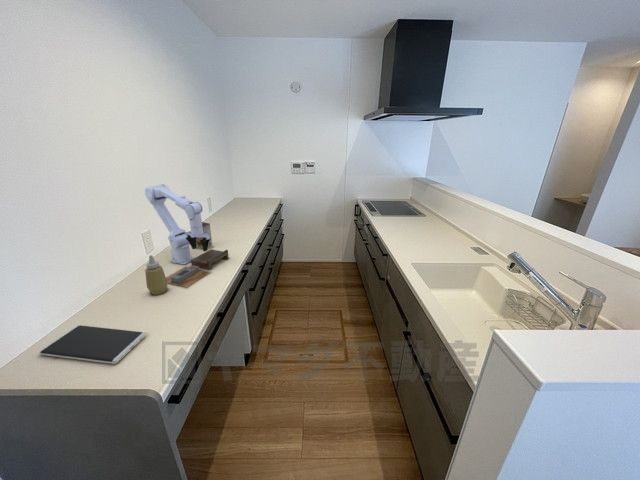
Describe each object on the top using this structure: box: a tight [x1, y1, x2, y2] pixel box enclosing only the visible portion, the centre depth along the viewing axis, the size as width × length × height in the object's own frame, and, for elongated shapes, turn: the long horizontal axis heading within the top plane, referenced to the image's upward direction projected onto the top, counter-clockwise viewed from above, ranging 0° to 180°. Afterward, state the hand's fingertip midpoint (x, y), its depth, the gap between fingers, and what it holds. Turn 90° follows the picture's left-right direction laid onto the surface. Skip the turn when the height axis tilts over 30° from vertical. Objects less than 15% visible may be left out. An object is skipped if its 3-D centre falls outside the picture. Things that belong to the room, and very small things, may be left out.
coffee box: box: [195, 221, 213, 250], centre depth 166 cm, size 9×6×16 cm
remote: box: [171, 265, 201, 284], centre depth 132 cm, size 14×4×3 cm, turn 161°
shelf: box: [190, 248, 230, 271], centre depth 148 cm, size 12×16×6 cm
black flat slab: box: [39, 324, 146, 365], centre depth 88 cm, size 13×27×2 cm, turn 83°
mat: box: [165, 266, 211, 289], centre depth 133 cm, size 16×16×1 cm
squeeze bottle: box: [144, 254, 168, 296], centre depth 117 cm, size 8×8×18 cm
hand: (199, 249), depth 142 cm, fingers open, 7 cm apart
